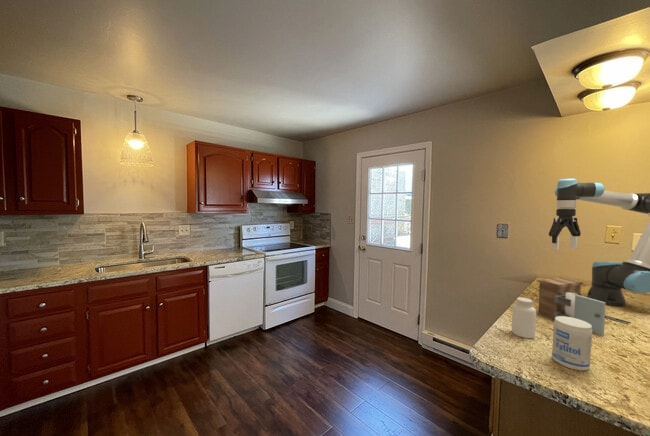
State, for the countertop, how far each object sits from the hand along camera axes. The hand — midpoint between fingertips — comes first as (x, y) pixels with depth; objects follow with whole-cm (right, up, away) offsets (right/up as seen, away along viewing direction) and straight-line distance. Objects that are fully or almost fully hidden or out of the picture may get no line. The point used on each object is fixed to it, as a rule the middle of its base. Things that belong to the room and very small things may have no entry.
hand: (564, 248), depth 139 cm
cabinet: (-10, -32, -11) cm, 35 cm away
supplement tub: (-42, -34, -48) cm, 72 cm away
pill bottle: (-43, -33, -28) cm, 61 cm away
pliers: (+11, -33, -8) cm, 35 cm away
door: (-12, -33, -22) cm, 41 cm away
